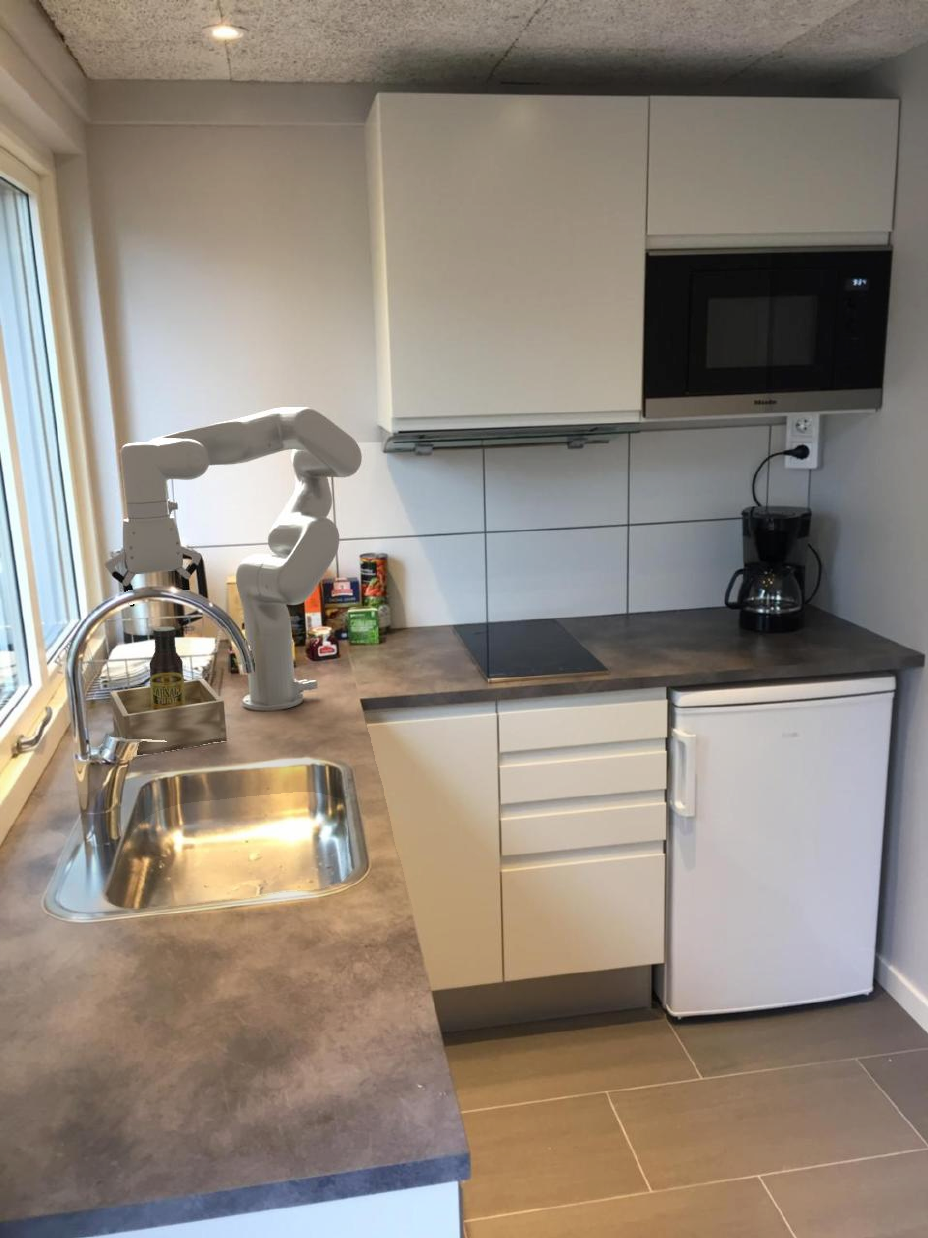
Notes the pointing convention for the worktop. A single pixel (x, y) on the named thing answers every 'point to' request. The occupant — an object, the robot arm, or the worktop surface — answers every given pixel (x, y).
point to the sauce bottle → (166, 671)
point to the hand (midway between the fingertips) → (158, 602)
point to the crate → (170, 718)
